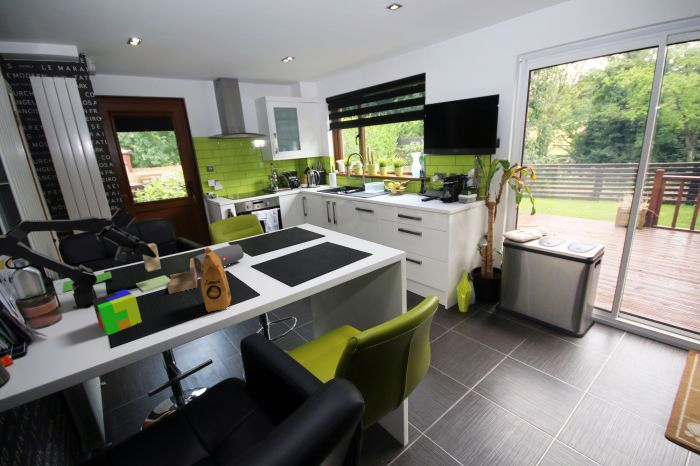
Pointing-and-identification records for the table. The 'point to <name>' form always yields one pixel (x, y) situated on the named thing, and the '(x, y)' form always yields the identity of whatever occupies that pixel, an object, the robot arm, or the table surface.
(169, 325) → the table surface
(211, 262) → the coffee package
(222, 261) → the bluetooth speaker
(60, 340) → the table surface
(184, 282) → the light wood angled piece
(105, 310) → the puzzle toy
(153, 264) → the beech block
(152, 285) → the olive mat
